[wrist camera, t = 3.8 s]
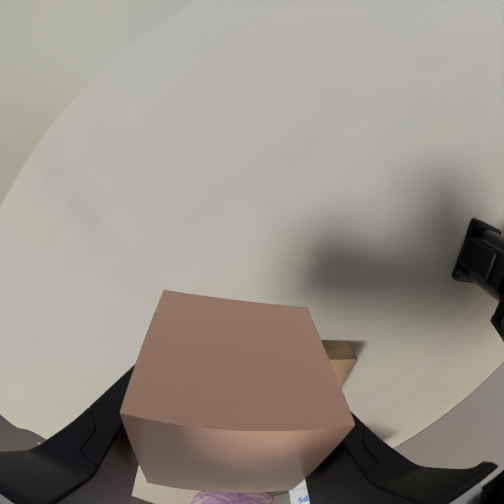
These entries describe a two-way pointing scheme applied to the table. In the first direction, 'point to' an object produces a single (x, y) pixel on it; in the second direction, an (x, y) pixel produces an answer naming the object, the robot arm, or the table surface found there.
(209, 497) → the bowl of food
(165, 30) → the table surface
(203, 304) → the terracotta cube
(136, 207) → the table surface
